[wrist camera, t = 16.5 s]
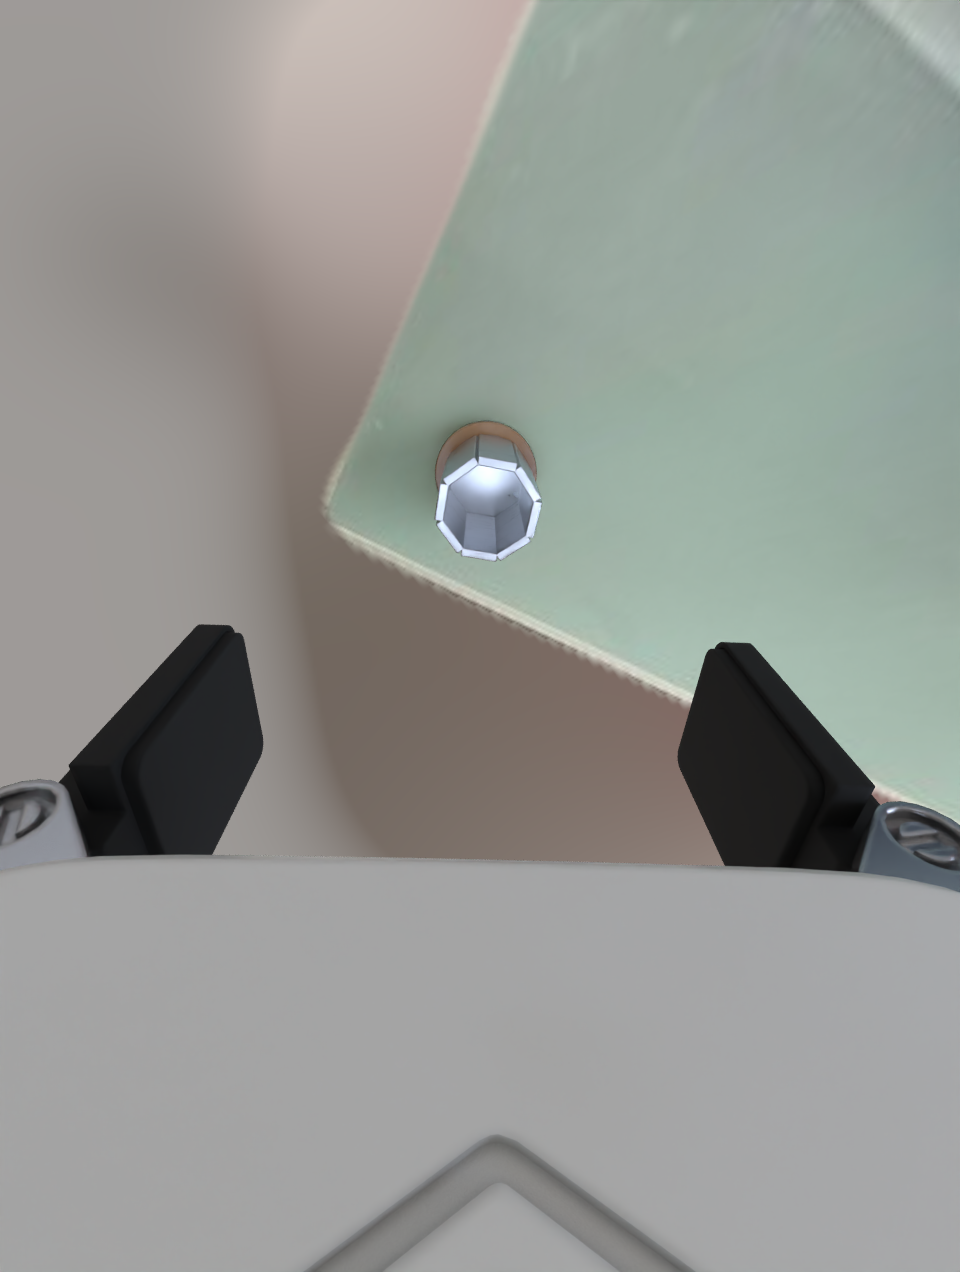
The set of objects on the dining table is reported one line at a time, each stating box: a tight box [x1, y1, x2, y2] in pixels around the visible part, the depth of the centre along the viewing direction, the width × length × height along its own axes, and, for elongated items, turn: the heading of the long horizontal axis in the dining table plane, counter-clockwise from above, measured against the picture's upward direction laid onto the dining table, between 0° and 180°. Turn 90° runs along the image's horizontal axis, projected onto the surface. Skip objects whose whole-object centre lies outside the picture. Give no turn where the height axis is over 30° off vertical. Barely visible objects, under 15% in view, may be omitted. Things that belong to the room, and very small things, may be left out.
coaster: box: [435, 421, 537, 492], centre depth 30 cm, size 6×6×1 cm
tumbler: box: [435, 434, 542, 562], centre depth 27 cm, size 5×5×6 cm
